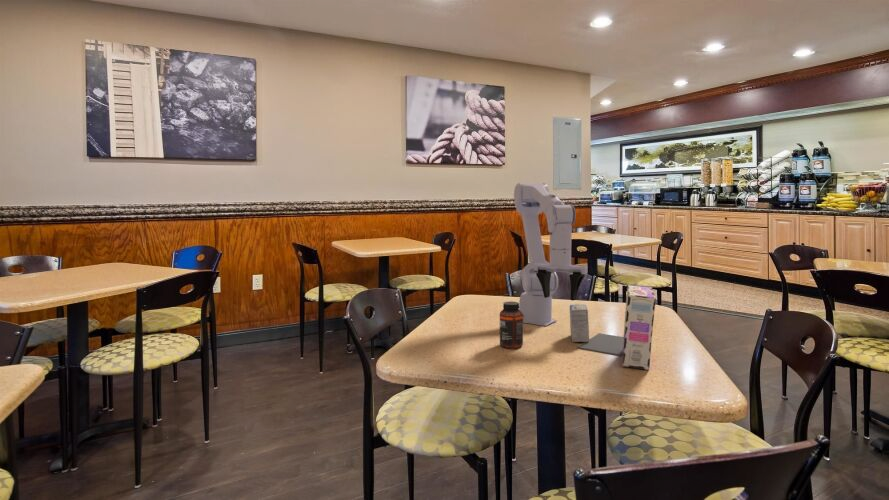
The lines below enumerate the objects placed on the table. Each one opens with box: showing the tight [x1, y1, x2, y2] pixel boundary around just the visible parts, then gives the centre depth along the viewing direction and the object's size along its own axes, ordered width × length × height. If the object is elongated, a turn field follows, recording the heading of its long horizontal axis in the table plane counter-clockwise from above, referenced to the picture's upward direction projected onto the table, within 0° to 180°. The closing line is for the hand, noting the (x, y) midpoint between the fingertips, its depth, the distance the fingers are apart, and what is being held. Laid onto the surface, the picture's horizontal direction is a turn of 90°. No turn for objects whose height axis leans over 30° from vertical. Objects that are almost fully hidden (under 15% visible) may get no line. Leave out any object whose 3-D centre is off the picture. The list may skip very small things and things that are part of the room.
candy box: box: [622, 284, 656, 371], centre depth 115 cm, size 14×6×16 cm, turn 160°
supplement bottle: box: [499, 300, 524, 350], centre depth 127 cm, size 6×6×11 cm
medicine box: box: [569, 303, 590, 343], centre depth 133 cm, size 8×4×9 cm, turn 168°
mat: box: [576, 333, 624, 357], centre depth 128 cm, size 11×16×1 cm
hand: (559, 298), depth 135 cm, fingers open, 7 cm apart
